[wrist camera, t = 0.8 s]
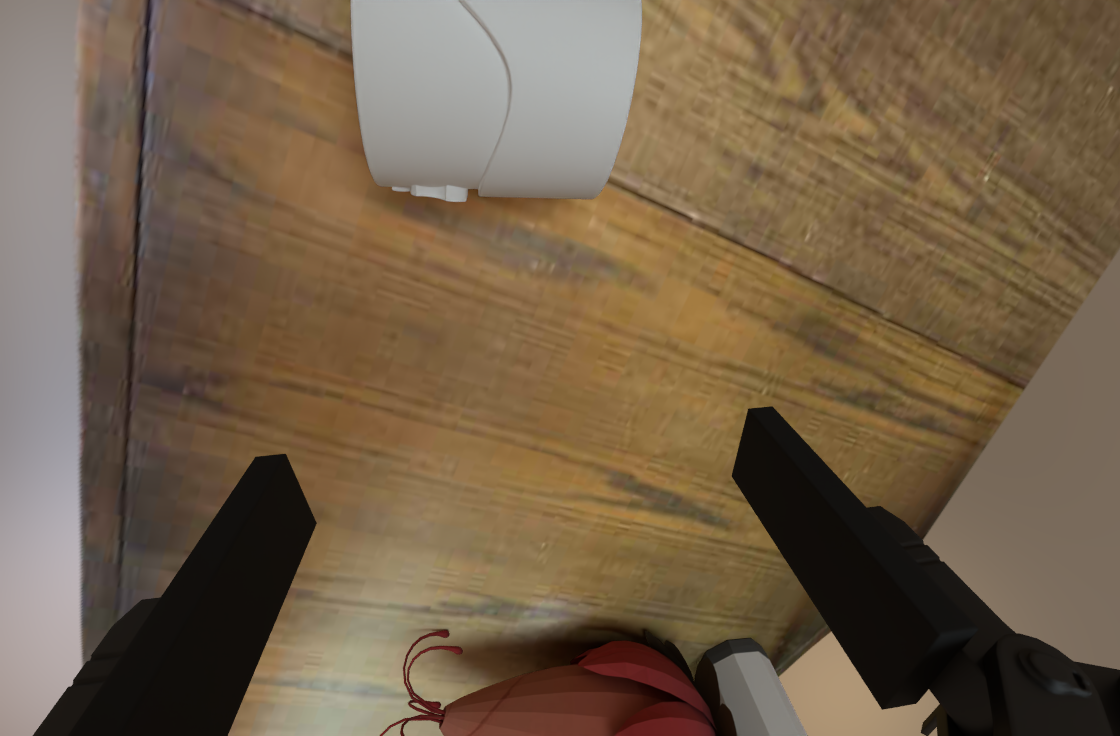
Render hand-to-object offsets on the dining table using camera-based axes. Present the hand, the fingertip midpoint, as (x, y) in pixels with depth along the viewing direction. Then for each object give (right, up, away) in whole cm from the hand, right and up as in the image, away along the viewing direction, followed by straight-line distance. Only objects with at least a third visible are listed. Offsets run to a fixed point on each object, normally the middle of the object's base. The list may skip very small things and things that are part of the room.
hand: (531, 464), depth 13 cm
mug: (-2, +18, +8) cm, 20 cm away
